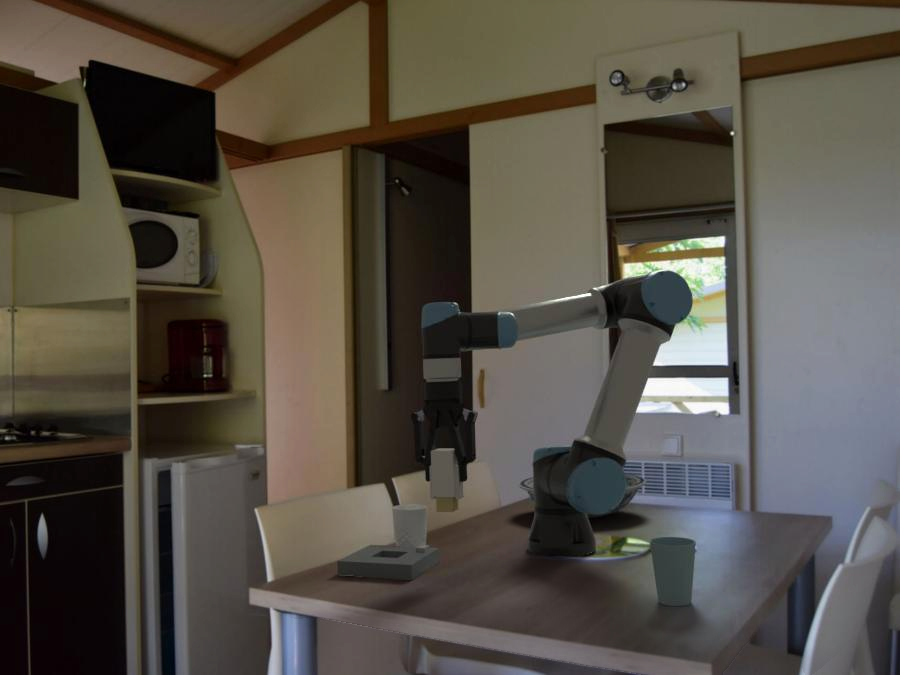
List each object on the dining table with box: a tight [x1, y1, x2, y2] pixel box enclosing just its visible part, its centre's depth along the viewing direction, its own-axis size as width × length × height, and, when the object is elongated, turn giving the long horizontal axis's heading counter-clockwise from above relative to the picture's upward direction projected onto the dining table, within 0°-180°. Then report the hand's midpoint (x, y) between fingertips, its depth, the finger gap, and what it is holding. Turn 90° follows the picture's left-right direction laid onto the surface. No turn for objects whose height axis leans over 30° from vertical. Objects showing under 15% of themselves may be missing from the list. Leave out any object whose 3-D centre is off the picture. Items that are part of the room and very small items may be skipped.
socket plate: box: [336, 544, 440, 581], centre depth 178 cm, size 16×16×4 cm
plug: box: [431, 447, 459, 513], centre depth 170 cm, size 4×4×12 cm
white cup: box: [392, 503, 428, 547], centre depth 194 cm, size 8×8×10 cm
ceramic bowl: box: [518, 473, 647, 518], centre depth 234 cm, size 34×34×10 cm
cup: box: [649, 536, 697, 607], centre depth 148 cm, size 8×8×10 cm
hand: (447, 497), depth 170 cm, fingers closed on plug, 4 cm apart
